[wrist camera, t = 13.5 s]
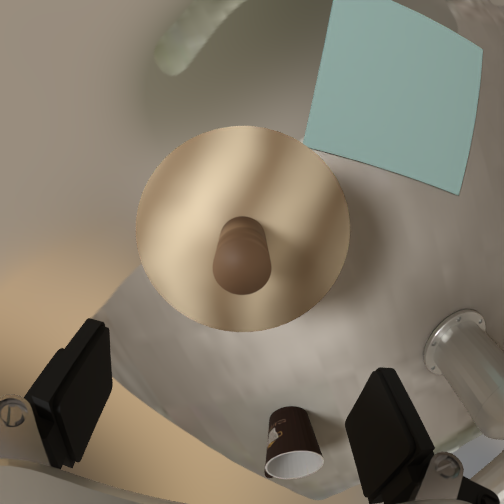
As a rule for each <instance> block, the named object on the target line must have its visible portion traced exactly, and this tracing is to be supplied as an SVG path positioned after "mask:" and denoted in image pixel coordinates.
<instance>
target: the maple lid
mask: <svg viewBox="0 0 504 504" xmlns="http://www.w3.org/2000/svg"><path fill="white" fill-rule="evenodd" d="M136 239H137V247H138V252H139V255H140V260H141V262H142V265H143V267H144V270H145V272H146V274H147V276H148V277H149V279H150V281H151V283H152V284H153V286H154V287H155V288H156V290H157V291H158V292H159V294H160V295H161V296H162V297H163V298H164V299H165V300H166V301H167V302H168V303H169V304H170V305H171V306H172V307H174V308H175V309H176V310H177V311H179V312H180V313H182V314H183V315H185V316H186V317H188V318H190V319H192V320H194V321H196V322H198V323H200V324H203V325H206V326H209V327H211V328H215V329H220V330H224V331H233V332H253V331H262V330H266V329H271V328H275V327H278V326H280V325H283V324H286V323H288V322H290V321H292V320H294V319H296V318H298V317H300V316H301V315H303V314H304V313H306V312H307V311H309V310H310V309H311V308H312V307H314V306H315V305H316V304H317V303H318V302H319V301H320V300H321V299H322V298H323V297H324V296H325V295H326V294H327V293H328V291H329V290H330V288H331V287H332V286H333V284H334V283H335V281H336V279H337V278H338V276H339V274H340V272H341V270H342V267H343V265H344V262H345V259H346V256H347V251H348V247H349V240H350V217H349V212H348V206H347V202H346V199H345V196H344V193H343V191H342V189H341V187H340V185H339V183H338V181H337V179H336V177H335V176H334V174H333V173H332V171H331V170H330V168H329V167H328V166H327V165H326V163H325V162H324V161H323V160H322V159H321V158H320V157H319V156H318V155H317V154H316V153H315V152H313V151H312V150H311V149H310V148H308V147H307V146H306V145H304V144H303V143H301V142H299V141H298V140H296V139H294V138H292V137H290V136H288V135H285V134H283V133H281V132H278V131H274V130H270V129H266V128H261V127H253V126H232V127H226V128H219V129H215V130H212V131H208V132H205V133H203V134H200V135H198V136H196V137H194V138H192V139H190V140H188V141H186V142H185V143H183V144H182V145H180V146H179V147H177V148H176V149H175V150H174V151H172V152H171V153H170V154H169V155H168V156H167V157H166V158H165V159H164V160H163V161H162V162H161V163H160V164H159V166H158V167H157V168H156V170H155V171H154V172H153V174H152V176H151V177H150V179H149V180H148V182H147V184H146V186H145V189H144V191H143V193H142V196H141V199H140V202H139V206H138V211H137V217H136Z"/></svg>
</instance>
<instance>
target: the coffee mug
mask: <svg viewBox="0 0 504 504" xmlns="http://www.w3.org/2000/svg"><path fill="white" fill-rule="evenodd" d="M323 463H324V459H323V456H322V453H321V451H320V448H319V445H318V442H317V440H316V437H315V434H314V431H313V429H312V426H311V423H310V420H309V418H308V415H307V413H306V411H305V410H303V409H302V408H299V407H293V406H291V407H284V408H280V409H278V410H276V411H275V412H273V413H272V415H271V416H270V420H269V432H268V443H267V454H266V465H265V476H266V477H267V478H272V477H276V478H281V479H296V478H301V477H305V476H308V475H311V474H313V473H315V472H316V471H318V470H319V469H320V468H321V467H322V465H323Z"/></svg>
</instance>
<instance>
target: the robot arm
mask: <svg viewBox="0 0 504 504" xmlns="http://www.w3.org/2000/svg"><path fill="white" fill-rule="evenodd" d="M485 330H486V325H485V321H484V318H483V317H482V315H481V314H479V313H478V312H477V311H475V310H472V309H465V310H461V311H458V312H456V313H454V314H452V315H450V316H449V317H448V318H446V319H445V320H444V321H443V322H441V323H440V324H439V326H438V327H437V328H436V329H435V330H434V332H433V333H432V334H431V336H430V338H429V339H428V341H427V344H426V346H425V349H424V363H425V365H426V367H427V368H428V370H429V371H430V372H432V373H434V374H437V375H444V376H445V378H446V379H447V381H448V382H449V384H450V385H451V387H452V388H453V390H454V391H455V393H456V394H457V396H458V397H459V399H460V400H461V402H462V403H463V405H464V407H465V408H466V410H467V411H468V413H469V414H470V416H471V418H472V419H473V421H474V422H475V424H476V425H477V427H478V429H479V430H480V431H481V433H483V434H484V435H485V436H487V437H489V438H492V439H499V440H504V352H503V351H502V350H501V348H500V347H499V346H498V345H497V343H496V342H494V341H493V340H492V339H491V338H490V337H489V336H488V335H487V334H486V333H485ZM111 390H112V371H111V356H110V335H109V328H107V327H105V324H104V322H101V321H97V320H94V319H90V318H88V319H87V320H86V321H85V323H84V324H83V325H82V327H81V328H80V329H79V330H78V332H77V333H76V334H75V336H74V337H73V338H72V340H71V341H70V342H69V344H68V345H67V346H66V348H65V349H63V348H61V349H59V350H58V351H57V352H56V354H55V355H54V356H53V358H52V359H51V360H50V362H49V363H48V364H47V366H46V367H45V368H44V370H43V371H42V373H41V374H40V375H39V377H38V378H37V380H36V381H35V382H34V384H33V385H32V387H31V388H30V389H29V391H28V392H27V394H26V395H25V397H24V398H23V397H21V396H18V395H5V396H1V397H0V504H186V503H180V502H175V501H170V500H165V499H160V498H155V497H151V496H147V495H143V494H139V493H134V492H131V491H127V490H124V489H119V488H116V487H113V486H109V485H106V484H103V483H100V482H96V481H93V480H90V479H87V478H84V477H81V476H78V475H75V474H72V473H69V472H66V471H63V470H60V469H61V467H62V465H65V466H68V467H70V468H73V466H74V463H75V461H76V462H80V461H81V459H82V456H83V454H84V452H85V449H86V447H87V445H88V442H89V440H90V438H91V435H92V433H93V431H94V428H95V426H96V424H97V422H98V419H99V417H100V415H101V413H102V411H103V408H104V406H105V404H106V402H107V400H108V398H109V395H110V393H111ZM345 428H346V431H347V435H348V438H349V442H350V446H351V449H352V453H353V456H354V460H355V464H356V467H357V471H358V475H359V479H360V482H361V486H362V490H363V494H364V496H365V497H368V500H369V504H375V503H382V502H384V504H504V450H503V451H502V452H501V453H500V454H499V455H498V456H497V457H496V458H494V459H493V460H492V461H491V462H490V463H489V464H487V465H486V466H485V467H484V468H483V469H481V470H480V471H479V472H478V473H477V474H476V475H474V476H473V477H472V478H471V479H468V478H466V477H464V476H463V470H464V469H463V466H462V463H461V462H460V460H459V459H458V458H457V457H456V456H455V455H453V454H451V453H448V452H439V453H436V454H435V455H434V453H433V450H434V449H435V447H434V445H433V443H432V441H431V439H430V437H429V435H428V433H427V431H426V429H425V427H424V425H423V423H422V421H421V419H420V417H419V415H418V413H417V411H416V409H415V407H414V405H413V403H412V401H411V399H410V397H409V395H408V394H407V392H406V390H405V388H404V386H403V384H402V382H401V380H400V379H399V377H398V375H397V373H396V371H395V370H394V369H393V368H381V367H380V368H378V369H377V370H376V371H373V372H372V374H371V375H370V377H369V379H368V381H367V383H366V385H365V387H364V389H363V390H362V392H361V394H360V396H359V398H358V400H357V401H356V403H355V405H354V407H353V408H352V410H351V412H350V413H349V415H348V417H347V419H346V422H345Z"/></svg>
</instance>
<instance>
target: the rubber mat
mask: <svg viewBox="0 0 504 504" xmlns="http://www.w3.org/2000/svg"><path fill="white" fill-rule="evenodd" d="M482 55H483V49H481V48H480V47H478V46H477V45H475V44H473V43H472V42H470V41H469V40H467V39H465V38H464V37H462V36H460V35H459V34H457V33H455V32H454V31H452V30H450V29H448V28H446V27H445V26H443V25H441V24H439V23H437V22H435V21H433V20H432V19H430V18H427V17H426V16H424V15H422V14H420V13H418V12H415V11H413V10H411V9H409V8H407V7H405V6H403V5H400V4H398V3H396V2H393V1H391V0H333V4H332V9H331V14H330V19H329V24H328V29H327V34H326V39H325V44H324V49H323V53H322V58H321V63H320V68H319V73H318V77H317V82H316V87H315V91H314V96H313V101H312V105H311V110H310V115H309V119H308V123H307V128H306V133H305V137H304V141H303V144H304V145H306V146H307V147H308V148H312V149H316V150H320V151H324V152H328V153H331V154H335V155H339V156H342V157H346V158H349V159H353V160H356V161H360V162H363V163H366V164H370V165H373V166H376V167H379V168H383V169H386V170H389V171H392V172H395V173H398V174H401V175H404V176H407V177H410V178H413V179H416V180H419V181H421V182H424V183H427V184H430V185H432V186H435V187H438V188H441V189H443V190H446V191H448V192H451V193H454V194H456V195H459V192H460V188H461V185H462V181H463V177H464V173H465V168H466V164H467V159H468V155H469V150H470V145H471V140H472V135H473V129H474V124H475V117H476V111H477V104H478V97H479V88H480V79H481V69H482Z"/></svg>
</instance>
